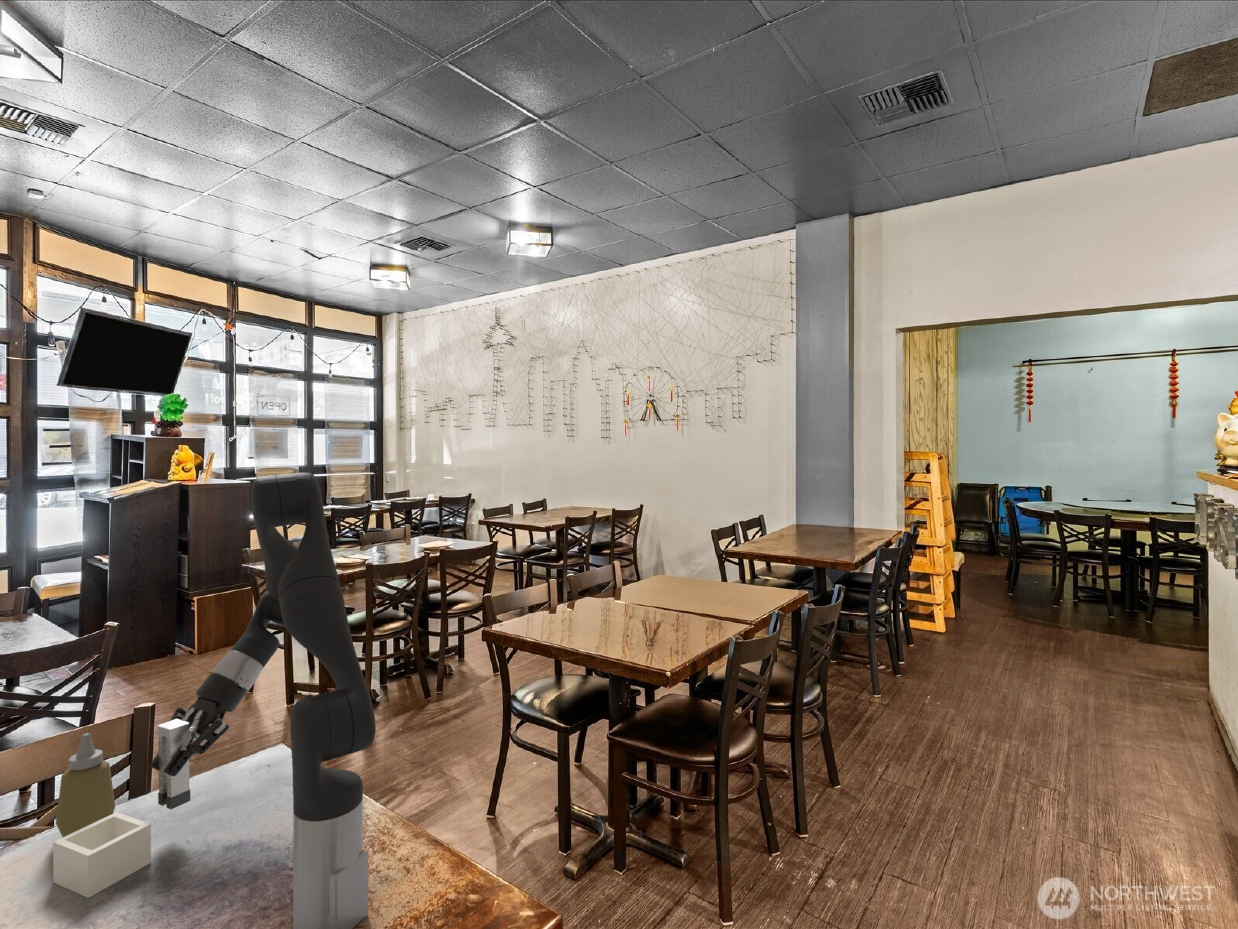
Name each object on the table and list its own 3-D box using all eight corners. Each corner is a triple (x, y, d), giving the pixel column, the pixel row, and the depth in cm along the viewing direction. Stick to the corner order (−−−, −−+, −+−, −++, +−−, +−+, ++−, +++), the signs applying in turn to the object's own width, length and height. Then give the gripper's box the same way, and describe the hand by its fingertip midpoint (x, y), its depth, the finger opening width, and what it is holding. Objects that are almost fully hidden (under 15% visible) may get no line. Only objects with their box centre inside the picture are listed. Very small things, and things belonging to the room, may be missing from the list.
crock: (150, 862, 104) (150, 824, 104) (88, 898, 96) (88, 856, 96) (116, 849, 108) (116, 812, 108) (53, 882, 99) (53, 842, 99)
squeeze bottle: (115, 817, 117) (114, 721, 117) (115, 837, 111) (115, 736, 111) (57, 833, 112) (56, 733, 112) (54, 855, 106) (53, 750, 106)
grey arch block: (190, 800, 112) (189, 722, 112) (171, 809, 109) (170, 729, 109) (177, 795, 114) (176, 718, 114) (158, 804, 111) (157, 725, 111)
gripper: (194, 665, 122) (122, 754, 111) (239, 676, 115) (167, 772, 104) (222, 684, 126) (156, 771, 116) (267, 696, 120) (201, 789, 109)
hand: (162, 771), depth 110 cm, fingers closed on grey arch block, 3 cm apart
